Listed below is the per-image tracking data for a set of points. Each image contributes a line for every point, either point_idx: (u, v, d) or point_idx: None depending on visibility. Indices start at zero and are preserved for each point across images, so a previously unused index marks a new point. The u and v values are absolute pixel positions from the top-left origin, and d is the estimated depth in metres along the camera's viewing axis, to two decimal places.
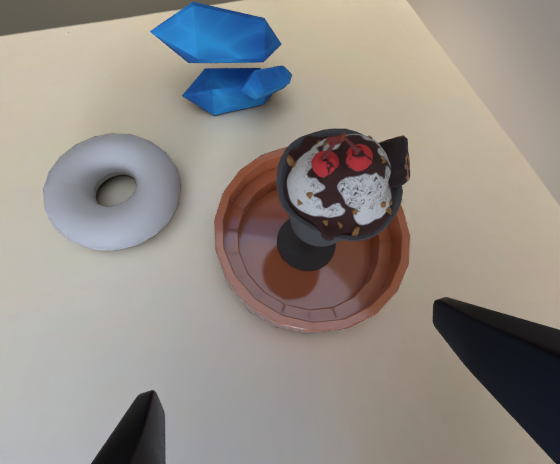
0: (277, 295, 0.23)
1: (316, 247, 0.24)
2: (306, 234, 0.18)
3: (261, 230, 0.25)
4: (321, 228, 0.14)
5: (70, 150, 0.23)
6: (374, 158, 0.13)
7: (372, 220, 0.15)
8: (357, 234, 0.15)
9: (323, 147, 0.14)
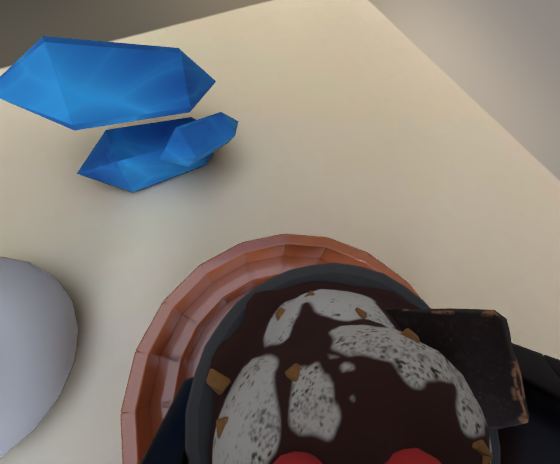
0: None
1: None
2: None
3: None
4: None
5: None
6: None
7: None
8: None
9: (290, 390, 0.05)
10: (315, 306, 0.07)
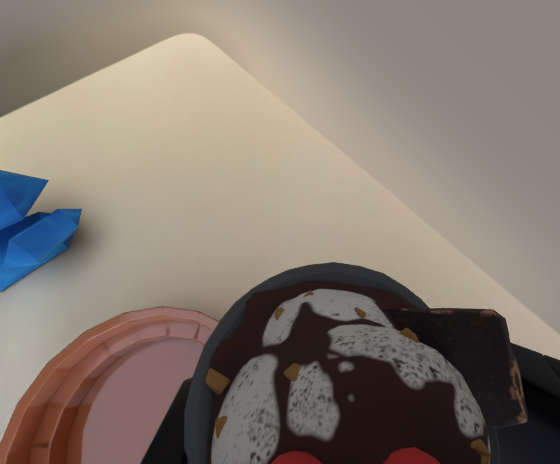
0: None
1: None
2: None
3: (97, 444, 0.18)
4: None
5: None
6: None
7: None
8: None
9: (289, 389, 0.05)
10: (314, 306, 0.07)
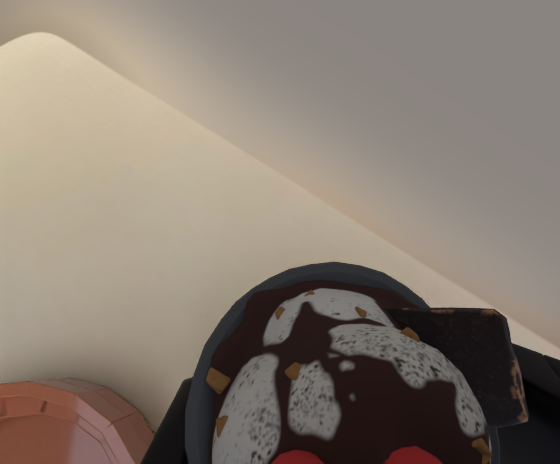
0: None
1: None
2: None
3: None
4: None
5: None
6: None
7: None
8: None
9: (290, 388, 0.05)
10: (315, 305, 0.07)
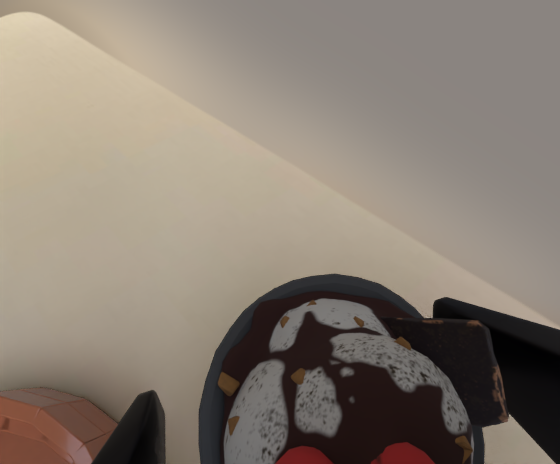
0: None
1: None
2: None
3: None
4: None
5: None
6: (445, 462, 0.04)
7: None
8: None
9: (295, 392, 0.06)
10: (317, 315, 0.07)
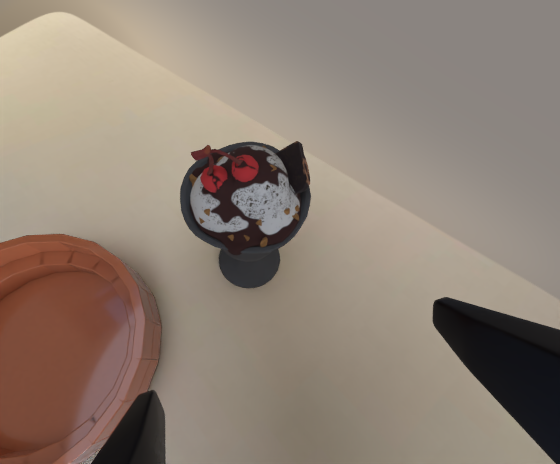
0: (35, 438, 0.18)
1: (258, 262, 0.23)
2: (228, 251, 0.17)
3: None
4: (227, 244, 0.14)
5: None
6: (262, 167, 0.13)
7: (279, 228, 0.14)
8: (266, 245, 0.14)
9: (217, 162, 0.14)
10: None
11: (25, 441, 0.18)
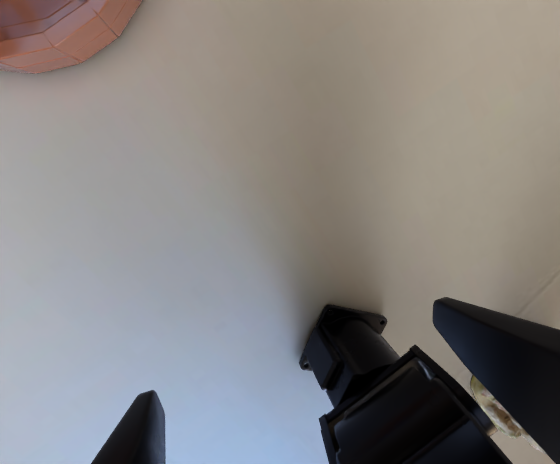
0: (1, 21, 0.14)
1: None
2: None
3: None
4: None
5: None
6: None
7: None
8: None
9: None
10: None
11: None
